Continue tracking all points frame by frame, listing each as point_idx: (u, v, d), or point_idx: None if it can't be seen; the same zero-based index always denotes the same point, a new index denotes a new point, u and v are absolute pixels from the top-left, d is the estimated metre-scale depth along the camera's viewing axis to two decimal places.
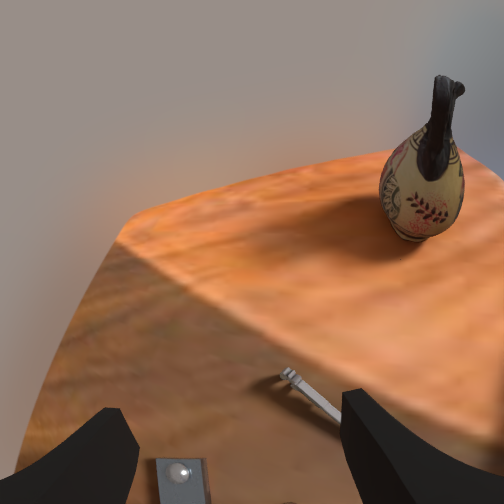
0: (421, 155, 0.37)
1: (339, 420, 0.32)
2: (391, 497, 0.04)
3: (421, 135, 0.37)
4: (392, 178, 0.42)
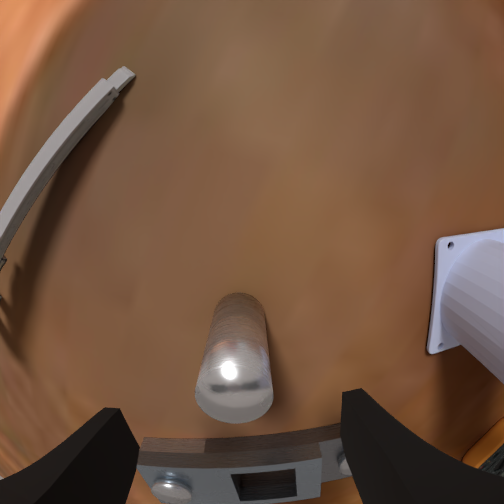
0: None
1: (7, 222, 0.13)
2: (391, 497, 0.04)
3: None
4: None
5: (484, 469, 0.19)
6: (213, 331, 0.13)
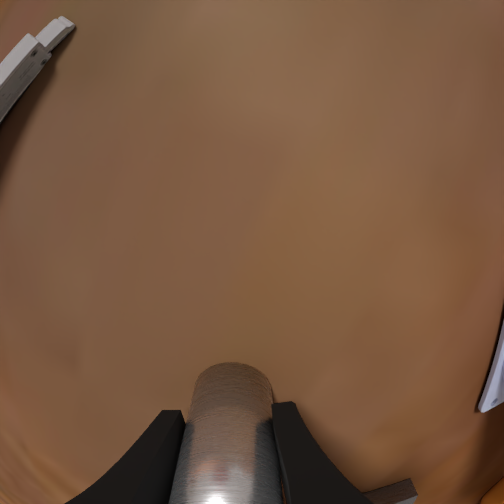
0: None
1: None
2: None
3: None
4: None
5: None
6: (187, 448, 0.06)
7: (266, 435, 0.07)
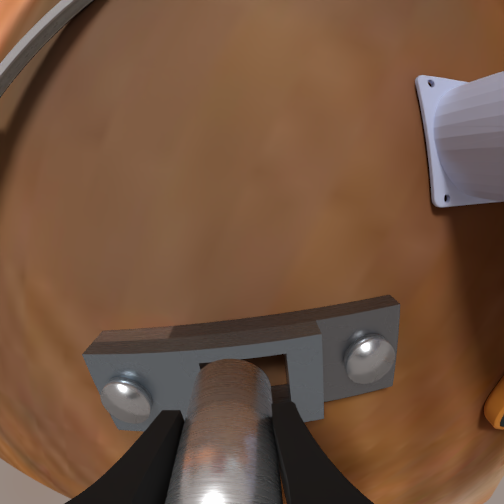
0: None
1: (4, 69, 0.11)
2: None
3: None
4: None
5: None
6: (185, 442, 0.07)
7: (265, 429, 0.07)
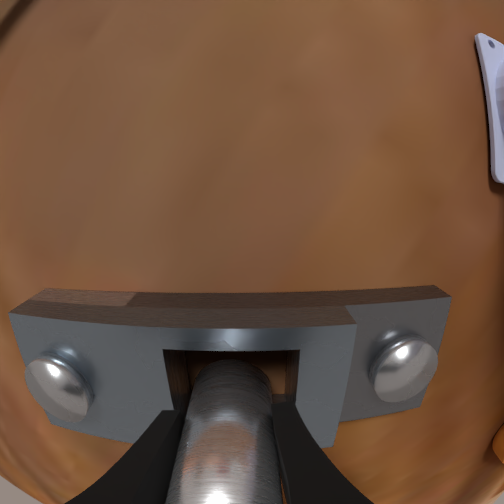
0: None
1: None
2: None
3: None
4: None
5: None
6: (186, 442, 0.07)
7: (265, 429, 0.07)
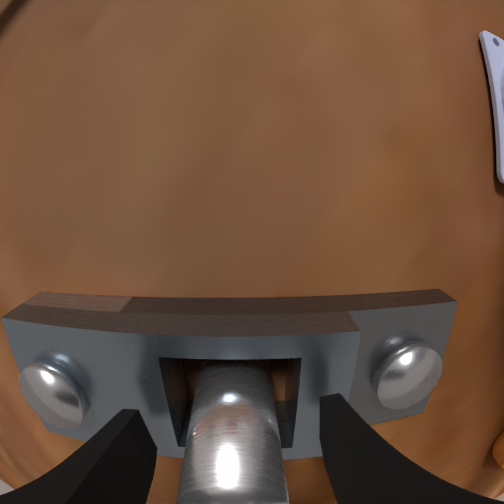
0: None
1: None
2: None
3: None
4: None
5: None
6: (199, 404, 0.08)
7: (265, 392, 0.09)
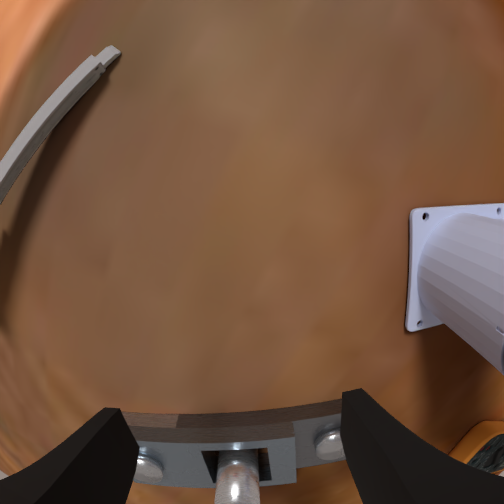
0: None
1: None
2: (391, 497, 0.04)
3: None
4: None
5: None
6: (220, 466, 0.16)
7: (251, 458, 0.17)
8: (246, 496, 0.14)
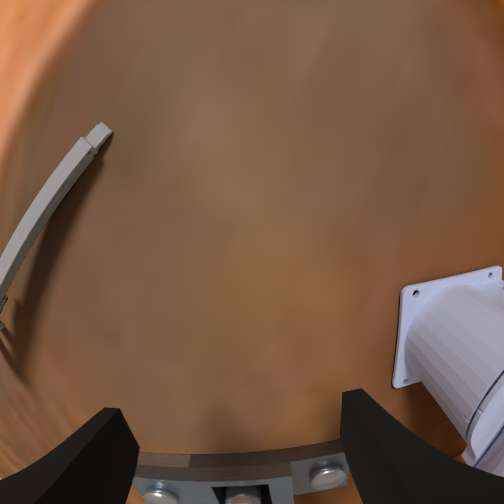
0: None
1: (5, 271, 0.14)
2: (391, 497, 0.04)
3: None
4: None
5: None
6: (228, 498, 0.17)
7: (255, 492, 0.18)
8: None
